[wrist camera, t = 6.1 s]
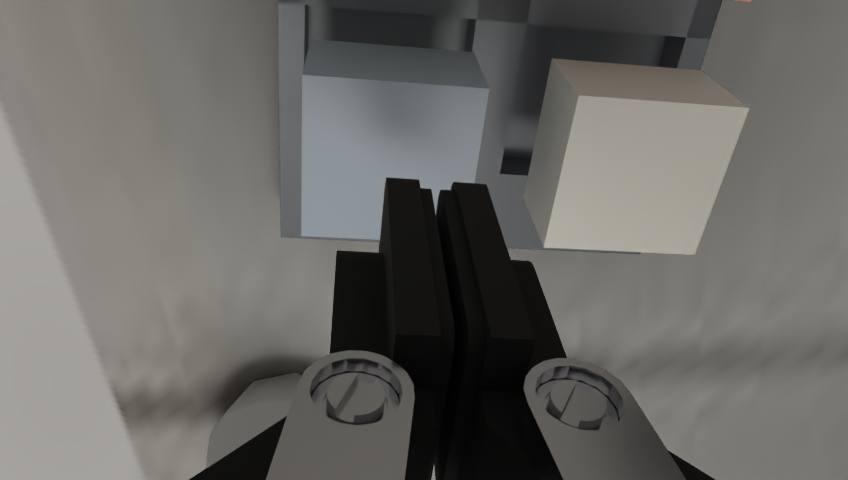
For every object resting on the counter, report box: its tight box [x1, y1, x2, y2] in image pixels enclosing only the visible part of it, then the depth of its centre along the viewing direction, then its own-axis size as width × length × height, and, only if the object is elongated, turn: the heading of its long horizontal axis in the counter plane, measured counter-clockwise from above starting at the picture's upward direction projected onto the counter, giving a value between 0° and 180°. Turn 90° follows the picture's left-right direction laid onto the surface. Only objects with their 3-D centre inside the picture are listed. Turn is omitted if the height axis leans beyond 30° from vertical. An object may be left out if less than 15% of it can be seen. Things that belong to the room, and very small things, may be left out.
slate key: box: [301, 39, 489, 240], centre depth 17 cm, size 4×4×4 cm
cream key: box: [524, 58, 750, 255], centre depth 18 cm, size 4×4×4 cm
